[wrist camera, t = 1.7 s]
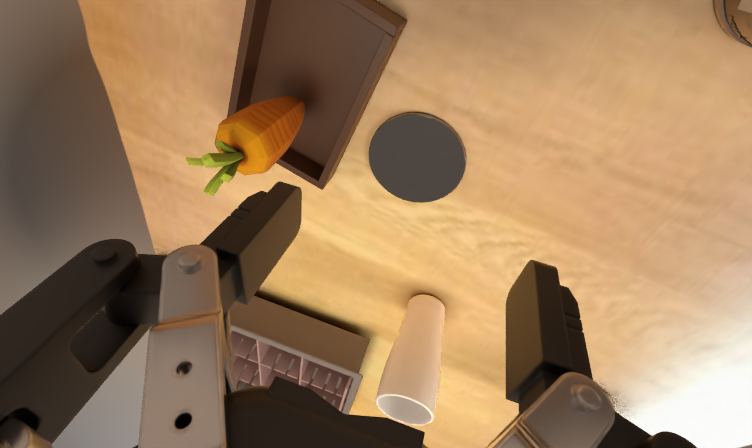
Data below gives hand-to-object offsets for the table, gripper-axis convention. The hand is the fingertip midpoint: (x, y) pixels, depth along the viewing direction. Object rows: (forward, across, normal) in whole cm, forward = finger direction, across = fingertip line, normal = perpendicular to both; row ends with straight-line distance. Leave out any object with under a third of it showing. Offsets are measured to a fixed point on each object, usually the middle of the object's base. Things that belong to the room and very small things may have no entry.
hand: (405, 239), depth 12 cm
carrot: (+23, +15, +7) cm, 28 cm away
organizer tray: (+24, +21, +58) cm, 66 cm away
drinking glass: (+23, -5, +32) cm, 40 cm away
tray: (+23, +14, +5) cm, 27 cm away
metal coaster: (+23, +2, +10) cm, 25 cm away
